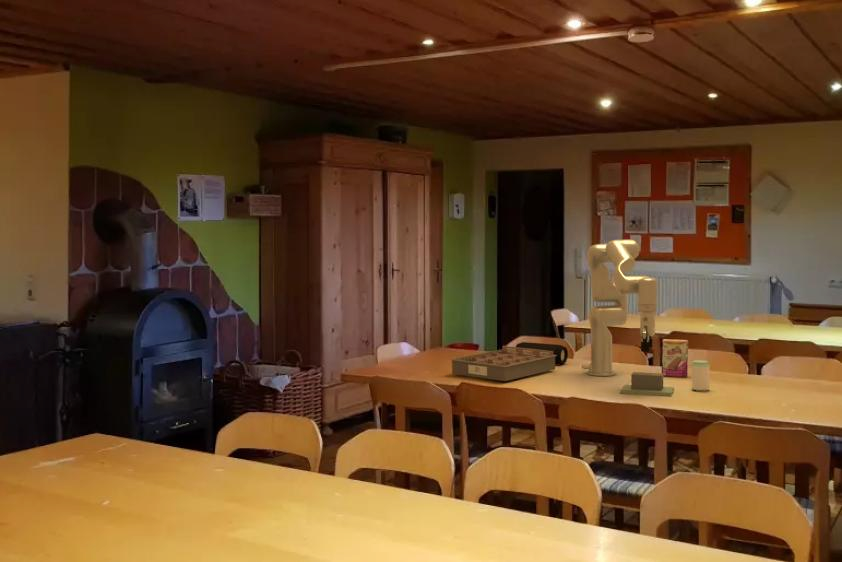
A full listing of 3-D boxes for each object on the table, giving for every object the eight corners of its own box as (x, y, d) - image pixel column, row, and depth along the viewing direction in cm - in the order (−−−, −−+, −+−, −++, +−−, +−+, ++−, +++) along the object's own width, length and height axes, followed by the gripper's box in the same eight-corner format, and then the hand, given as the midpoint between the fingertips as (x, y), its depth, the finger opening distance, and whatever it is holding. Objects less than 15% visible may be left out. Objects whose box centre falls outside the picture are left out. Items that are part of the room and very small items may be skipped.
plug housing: (631, 388, 350) (631, 374, 349) (633, 386, 355) (633, 372, 355) (661, 390, 345) (661, 375, 345) (663, 387, 351) (663, 373, 350)
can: (712, 391, 350) (712, 362, 349) (695, 391, 349) (695, 362, 348) (705, 388, 357) (705, 359, 356) (688, 388, 356) (688, 360, 355)
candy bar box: (661, 376, 384) (661, 340, 383) (662, 374, 389) (662, 339, 388) (687, 377, 380) (687, 341, 379) (688, 375, 385) (688, 339, 384)
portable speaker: (513, 362, 430) (513, 342, 429) (523, 359, 438) (522, 340, 438) (559, 366, 415) (559, 346, 415) (568, 363, 424) (568, 343, 423)
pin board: (620, 393, 348) (620, 381, 348) (624, 388, 360) (624, 376, 359) (671, 396, 341) (671, 384, 341) (674, 390, 352) (674, 378, 352)
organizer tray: (449, 376, 394) (449, 355, 394) (503, 365, 423) (503, 345, 423) (505, 384, 373) (504, 362, 372) (557, 372, 401) (557, 351, 401)
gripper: (654, 311, 339) (653, 353, 340) (659, 306, 355) (658, 346, 356) (634, 310, 341) (634, 352, 343) (640, 305, 357) (640, 345, 359)
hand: (646, 349), depth 350 cm, fingers open, 9 cm apart
